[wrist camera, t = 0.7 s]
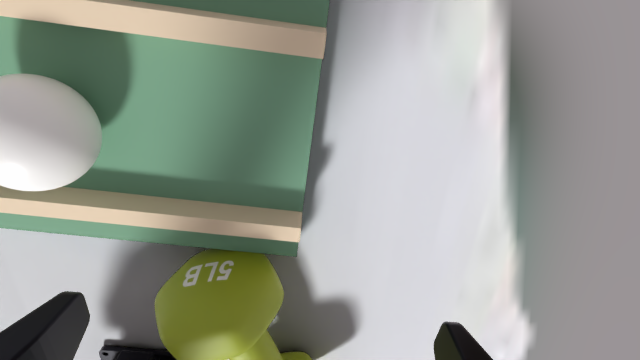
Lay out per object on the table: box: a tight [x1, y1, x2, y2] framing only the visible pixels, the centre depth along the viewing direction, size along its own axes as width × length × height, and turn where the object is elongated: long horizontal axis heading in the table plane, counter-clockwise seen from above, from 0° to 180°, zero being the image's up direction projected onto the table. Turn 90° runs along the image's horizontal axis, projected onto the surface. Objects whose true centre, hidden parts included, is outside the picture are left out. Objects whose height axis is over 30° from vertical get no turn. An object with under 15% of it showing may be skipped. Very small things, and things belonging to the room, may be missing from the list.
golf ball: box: [0, 73, 102, 191], centre depth 16 cm, size 5×5×5 cm
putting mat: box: [0, 0, 330, 257], centre depth 17 cm, size 16×28×5 cm, turn 83°
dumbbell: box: [155, 249, 312, 360], centre depth 25 cm, size 16×8×7 cm, turn 14°
